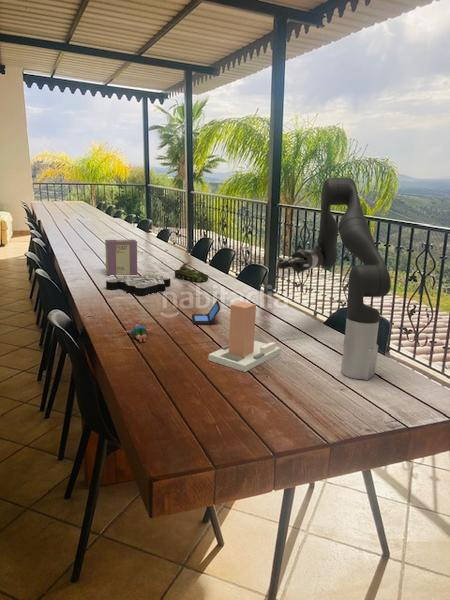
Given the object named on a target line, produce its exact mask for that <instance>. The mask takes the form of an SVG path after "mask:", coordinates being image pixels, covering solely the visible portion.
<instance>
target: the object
mask: <svg viewBox="0 0 450 600" xmlns="http://www.w3.org/2000/svg"><path fill="white" fill-rule="evenodd" d="M220 310H221V306H220V302H219V300H216V301H215V303H213V306H212V307H211V309H210V310H209V311H208V313H206V314H205V313H201V314H200V313H196V314H195V313H192V314H191V319H192V325H193V326H212V325H213V322H214V320H215V318H216V317H217V315H218V313H219V312H220Z"/></svg>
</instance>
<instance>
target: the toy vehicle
mask: <svg viewBox="0 0 450 600" xmlns="http://www.w3.org/2000/svg"><path fill="white" fill-rule="evenodd" d="M190 263H191V262H187V263H184V264H182V266H180V267H179V268H178V269H175V270H174V277H175V278H176V279H177V280H182V279H184V280H183V281H185V280H186V279H187V280H186V281H188V282H192V283H196V282H199V283H200V282H205V281H209V276H210V275H208V274H205V273H204V272H202V271H199V270H196V269H192V268H188V267H187V265H188V264H190Z"/></svg>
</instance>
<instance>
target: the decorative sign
mask: <svg viewBox="0 0 450 600" xmlns="http://www.w3.org/2000/svg"><path fill="white" fill-rule="evenodd" d="M169 286H170V287H171V278H164V277H163V276H162V275H157V274H152V275H151V274H144V275H137V276H123V277H118V278H112V279H107V280H106V281H105V289H106V290H107V291H118V290H121V289H122V290H121V291H123V292H125V291H126V292H125V293H126V294H128V293H130V294H129V295H134V294H135V295H134V296H135V297H146V295H147V296H149V295H148V294H150V295H153V294H152V293H154V294H157V292H158V293H165V292H166V288H170V287H169ZM117 289H118V290H117ZM159 291H160V292H159ZM164 291H165V292H164Z"/></svg>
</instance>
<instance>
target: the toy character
mask: <svg viewBox="0 0 450 600" xmlns="http://www.w3.org/2000/svg"><path fill="white" fill-rule="evenodd" d="M148 332H155V329H153V328H151V329H148V328H145V326H143V325H141V324H140V323H139V322H138V321H137V322H135V323H134V325H133V329H131V330H122V331H121V332H120V333H121V335H123V334H125V333H126V334H132V335H133V338H134V339H136V340H138V341H139V342H140V343H146V341H147V337H148V334H149V333H148Z"/></svg>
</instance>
